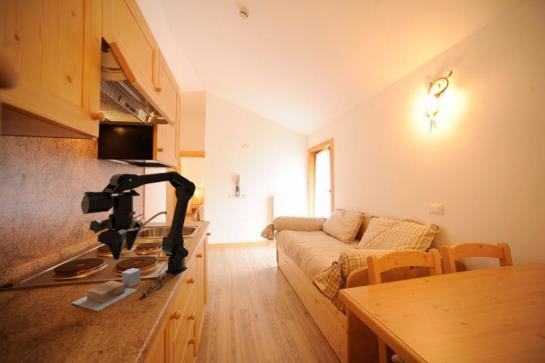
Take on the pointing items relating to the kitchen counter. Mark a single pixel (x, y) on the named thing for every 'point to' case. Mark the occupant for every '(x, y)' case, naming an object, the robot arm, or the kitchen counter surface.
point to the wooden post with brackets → (154, 285)
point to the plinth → (105, 292)
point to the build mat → (98, 307)
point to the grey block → (131, 277)
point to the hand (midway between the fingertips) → (123, 254)
